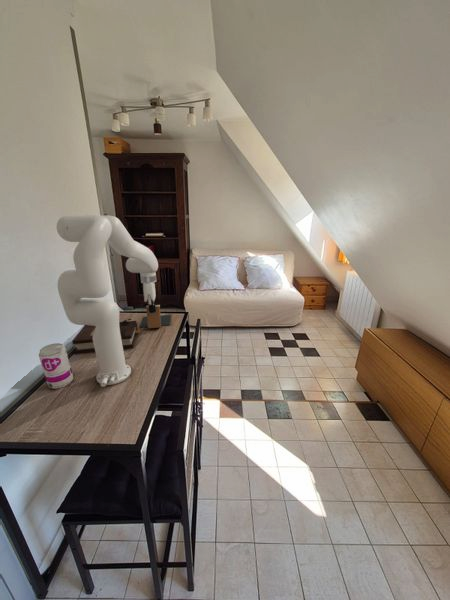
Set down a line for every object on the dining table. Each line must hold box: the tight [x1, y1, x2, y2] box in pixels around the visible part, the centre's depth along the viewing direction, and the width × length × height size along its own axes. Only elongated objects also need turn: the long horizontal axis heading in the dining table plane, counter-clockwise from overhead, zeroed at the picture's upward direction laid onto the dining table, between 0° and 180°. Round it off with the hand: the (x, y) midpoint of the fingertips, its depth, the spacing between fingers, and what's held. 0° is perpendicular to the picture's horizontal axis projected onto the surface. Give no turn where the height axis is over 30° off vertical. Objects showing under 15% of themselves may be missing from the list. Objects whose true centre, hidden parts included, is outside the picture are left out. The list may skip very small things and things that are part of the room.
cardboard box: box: [145, 304, 162, 329], centre depth 137 cm, size 5×7×12 cm
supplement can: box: [38, 342, 74, 390], centre depth 92 cm, size 8×8×15 cm
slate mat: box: [139, 314, 171, 329], centre depth 146 cm, size 14×16×1 cm
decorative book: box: [71, 318, 142, 355], centre depth 122 cm, size 19×8×30 cm
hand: (152, 311), depth 133 cm, fingers closed
